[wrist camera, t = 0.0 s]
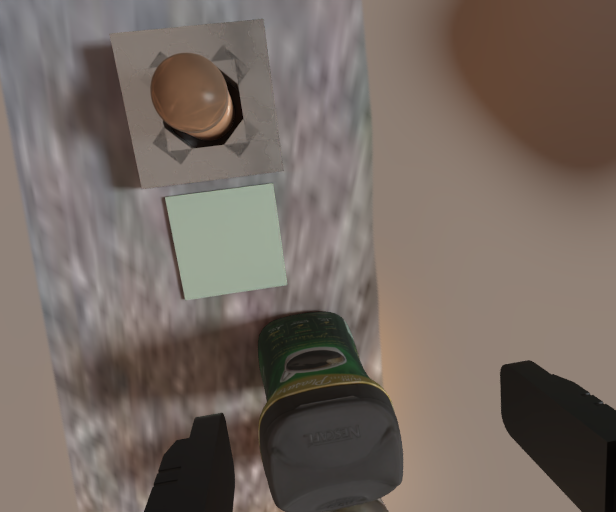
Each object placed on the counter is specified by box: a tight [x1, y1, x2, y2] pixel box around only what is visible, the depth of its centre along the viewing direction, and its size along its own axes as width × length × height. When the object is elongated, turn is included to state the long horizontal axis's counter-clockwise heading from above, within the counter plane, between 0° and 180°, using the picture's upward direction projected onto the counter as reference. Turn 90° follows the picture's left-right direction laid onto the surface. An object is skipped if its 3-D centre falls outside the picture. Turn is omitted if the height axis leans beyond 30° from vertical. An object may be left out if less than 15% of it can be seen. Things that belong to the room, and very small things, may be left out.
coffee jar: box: [258, 312, 403, 512], centre depth 33 cm, size 10×8×19 cm
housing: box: [110, 19, 284, 189], centre depth 35 cm, size 12×12×4 cm
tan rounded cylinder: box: [150, 53, 235, 141], centre depth 32 cm, size 5×5×9 cm
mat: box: [165, 183, 287, 300], centre depth 39 cm, size 10×10×1 cm
